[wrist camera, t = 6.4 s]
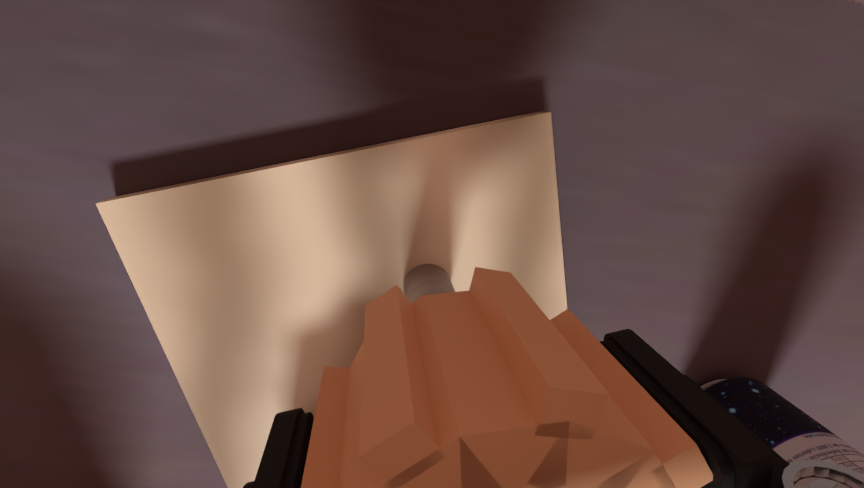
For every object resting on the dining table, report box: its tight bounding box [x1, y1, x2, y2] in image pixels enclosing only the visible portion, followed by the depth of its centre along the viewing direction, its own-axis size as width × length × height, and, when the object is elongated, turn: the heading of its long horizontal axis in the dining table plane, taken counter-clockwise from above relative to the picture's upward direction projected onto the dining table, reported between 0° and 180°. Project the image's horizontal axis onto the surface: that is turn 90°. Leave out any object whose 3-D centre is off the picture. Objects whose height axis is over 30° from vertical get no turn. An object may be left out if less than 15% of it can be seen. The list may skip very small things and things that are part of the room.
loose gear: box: [301, 267, 713, 488], centre depth 9 cm, size 7×7×4 cm
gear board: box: [96, 112, 567, 488], centre depth 16 cm, size 17×22×8 cm
